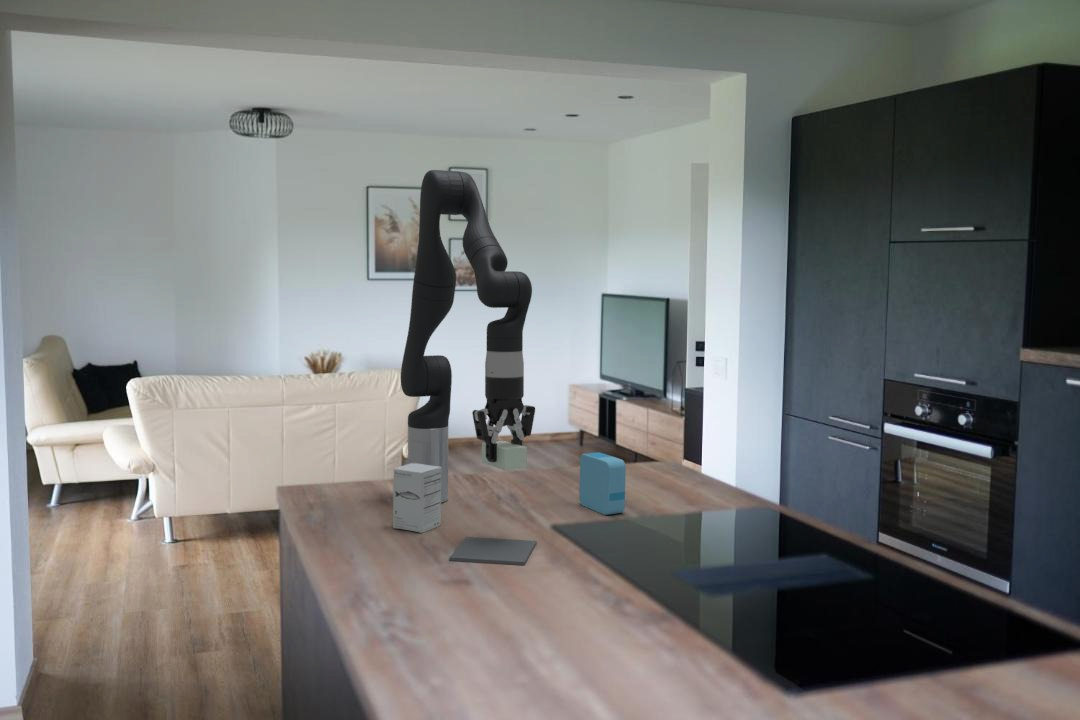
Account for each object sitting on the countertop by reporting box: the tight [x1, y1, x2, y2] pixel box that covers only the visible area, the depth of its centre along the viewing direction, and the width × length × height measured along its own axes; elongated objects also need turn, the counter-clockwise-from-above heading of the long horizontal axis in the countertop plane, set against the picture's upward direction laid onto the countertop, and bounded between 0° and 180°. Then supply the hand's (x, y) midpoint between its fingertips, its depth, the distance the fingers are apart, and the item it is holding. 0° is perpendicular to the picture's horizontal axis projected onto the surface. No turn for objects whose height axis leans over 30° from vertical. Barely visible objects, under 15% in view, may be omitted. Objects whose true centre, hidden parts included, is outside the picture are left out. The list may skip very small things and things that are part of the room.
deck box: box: [481, 440, 528, 471], centre depth 194 cm, size 5×9×4 cm, turn 33°
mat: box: [448, 536, 537, 566], centre depth 187 cm, size 14×14×1 cm
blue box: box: [578, 452, 627, 516], centre depth 220 cm, size 12×4×12 cm, turn 30°
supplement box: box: [392, 463, 442, 534], centre depth 203 cm, size 7×7×13 cm
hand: (504, 459), depth 194 cm, fingers closed on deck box, 5 cm apart
